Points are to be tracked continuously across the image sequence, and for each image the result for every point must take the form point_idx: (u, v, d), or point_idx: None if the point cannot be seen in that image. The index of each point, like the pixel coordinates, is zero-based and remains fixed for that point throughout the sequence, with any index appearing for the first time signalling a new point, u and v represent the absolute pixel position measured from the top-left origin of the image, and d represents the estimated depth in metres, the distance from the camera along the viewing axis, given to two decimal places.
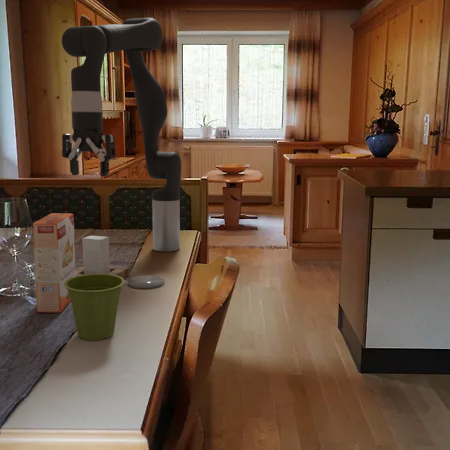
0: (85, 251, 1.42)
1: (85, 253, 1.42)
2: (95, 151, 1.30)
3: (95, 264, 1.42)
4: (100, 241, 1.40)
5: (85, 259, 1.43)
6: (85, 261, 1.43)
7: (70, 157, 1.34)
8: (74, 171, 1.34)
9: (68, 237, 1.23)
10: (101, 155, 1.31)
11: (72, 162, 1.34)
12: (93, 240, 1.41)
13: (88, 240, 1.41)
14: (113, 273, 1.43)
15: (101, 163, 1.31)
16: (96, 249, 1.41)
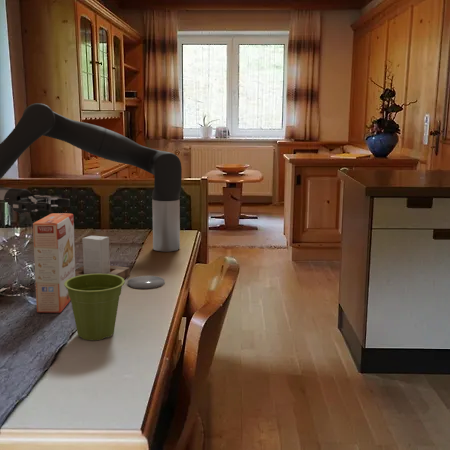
0: (85, 251, 1.42)
1: (85, 253, 1.42)
2: None
3: (95, 264, 1.42)
4: (100, 241, 1.40)
5: (85, 259, 1.43)
6: (85, 261, 1.43)
7: None
8: (66, 205, 1.49)
9: (68, 237, 1.23)
10: None
11: None
12: (93, 240, 1.41)
13: (88, 240, 1.41)
14: (113, 273, 1.43)
15: (40, 210, 1.42)
16: (96, 249, 1.41)
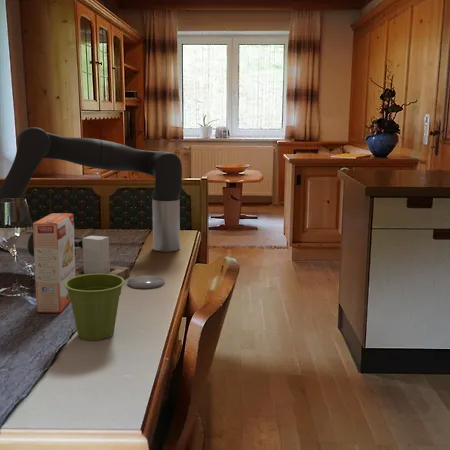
0: (85, 251, 1.42)
1: (85, 253, 1.42)
2: None
3: (95, 264, 1.42)
4: (100, 241, 1.40)
5: (85, 259, 1.43)
6: (85, 261, 1.43)
7: None
8: None
9: (68, 237, 1.23)
10: None
11: None
12: (93, 240, 1.41)
13: (88, 240, 1.41)
14: (113, 273, 1.43)
15: None
16: (96, 249, 1.41)
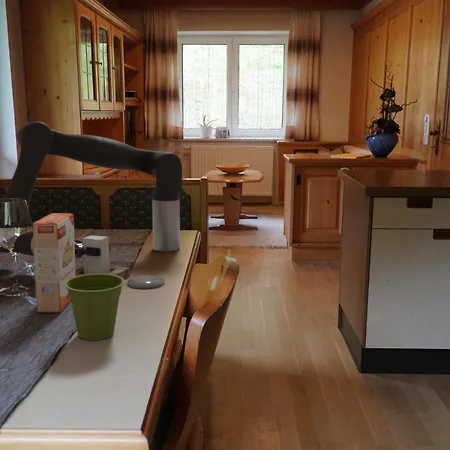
0: None
1: None
2: None
3: (95, 264, 1.42)
4: (100, 241, 1.40)
5: (85, 259, 1.43)
6: (85, 261, 1.43)
7: None
8: None
9: (68, 237, 1.23)
10: None
11: None
12: (93, 240, 1.41)
13: (88, 240, 1.41)
14: (113, 273, 1.43)
15: None
16: None
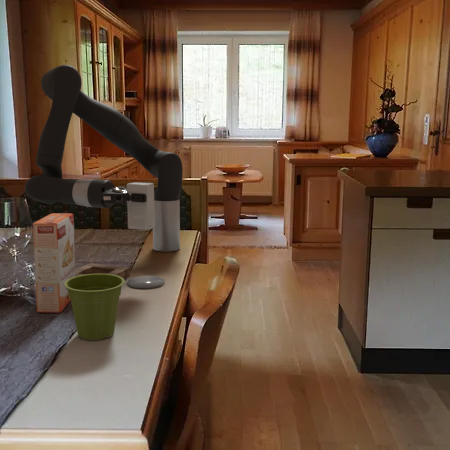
0: None
1: None
2: None
3: (140, 210, 1.36)
4: (146, 186, 1.35)
5: (129, 206, 1.37)
6: (130, 208, 1.37)
7: None
8: None
9: (68, 237, 1.23)
10: (126, 201, 1.36)
11: None
12: (138, 185, 1.35)
13: (133, 186, 1.36)
14: (113, 273, 1.43)
15: (134, 201, 1.36)
16: None
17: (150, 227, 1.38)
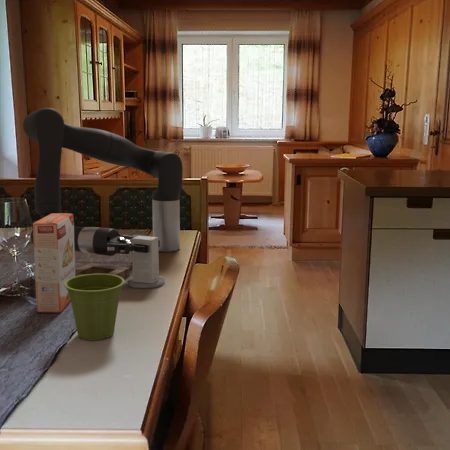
0: None
1: (134, 253, 1.40)
2: None
3: (145, 264, 1.39)
4: (151, 241, 1.37)
5: (134, 260, 1.40)
6: (134, 262, 1.40)
7: None
8: None
9: (68, 237, 1.23)
10: None
11: None
12: (143, 240, 1.38)
13: (138, 240, 1.39)
14: (113, 273, 1.43)
15: None
16: None
17: (154, 280, 1.41)
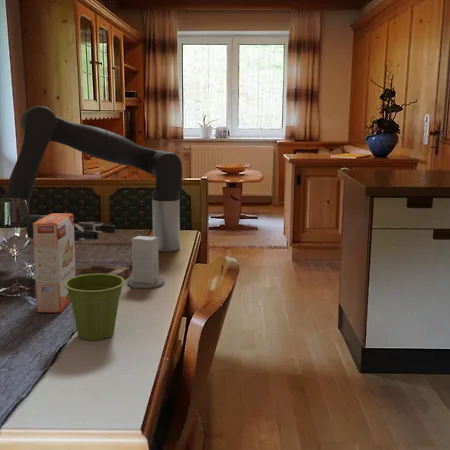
0: (134, 252, 1.39)
1: (134, 254, 1.39)
2: None
3: (145, 264, 1.39)
4: (150, 241, 1.37)
5: (134, 260, 1.40)
6: (134, 262, 1.40)
7: None
8: (111, 232, 1.48)
9: (68, 237, 1.23)
10: None
11: None
12: (143, 240, 1.38)
13: (138, 240, 1.39)
14: (113, 273, 1.43)
15: None
16: (145, 250, 1.38)
17: (154, 280, 1.41)
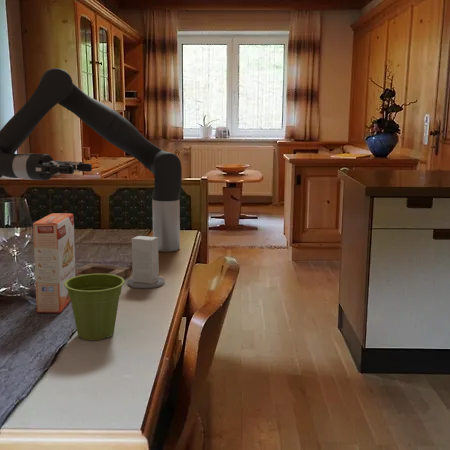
0: (134, 252, 1.39)
1: (134, 254, 1.39)
2: None
3: (145, 264, 1.39)
4: (150, 241, 1.37)
5: (134, 260, 1.40)
6: (134, 262, 1.40)
7: (78, 171, 1.51)
8: (87, 170, 1.49)
9: (68, 237, 1.23)
10: (56, 173, 1.43)
11: None
12: (143, 240, 1.38)
13: (138, 240, 1.39)
14: (113, 273, 1.43)
15: (62, 173, 1.42)
16: (145, 250, 1.38)
17: (154, 280, 1.41)
